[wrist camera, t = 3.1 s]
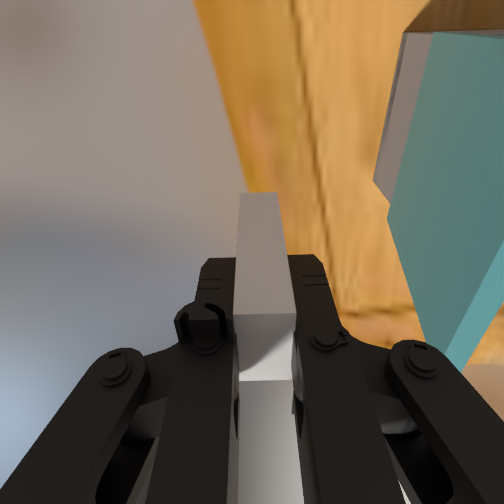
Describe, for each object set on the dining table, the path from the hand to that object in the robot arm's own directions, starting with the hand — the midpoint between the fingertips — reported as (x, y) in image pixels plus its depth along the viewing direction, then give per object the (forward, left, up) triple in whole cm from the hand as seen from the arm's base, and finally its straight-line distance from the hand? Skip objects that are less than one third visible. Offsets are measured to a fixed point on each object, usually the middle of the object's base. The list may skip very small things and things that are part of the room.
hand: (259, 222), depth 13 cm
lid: (-10, 0, -4) cm, 11 cm away
